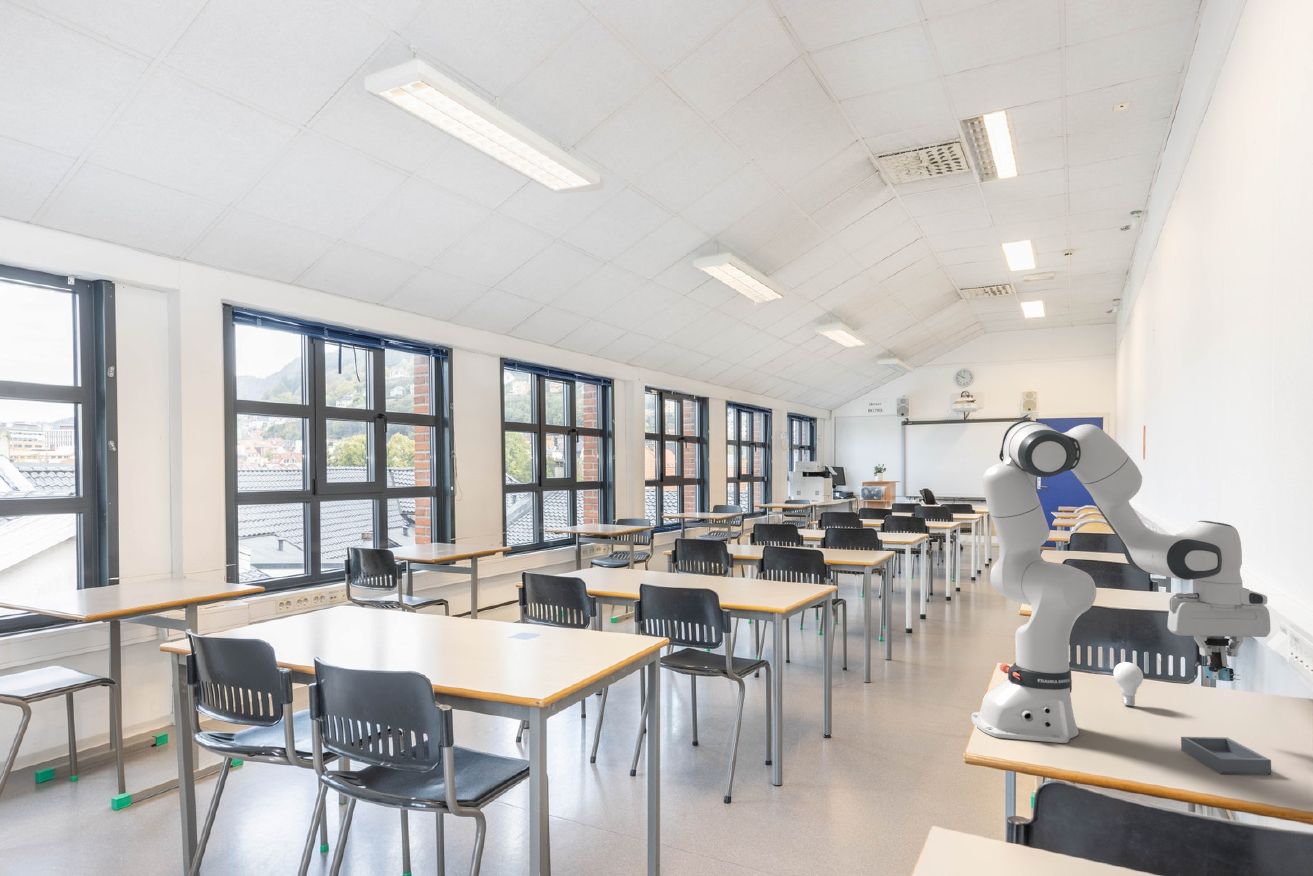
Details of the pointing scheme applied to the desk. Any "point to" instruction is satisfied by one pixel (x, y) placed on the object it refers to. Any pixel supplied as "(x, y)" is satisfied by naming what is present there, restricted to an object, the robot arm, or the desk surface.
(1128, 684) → the lightbulb
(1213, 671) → the push button
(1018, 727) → the robot arm
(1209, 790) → the desk surface
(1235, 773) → the tray
